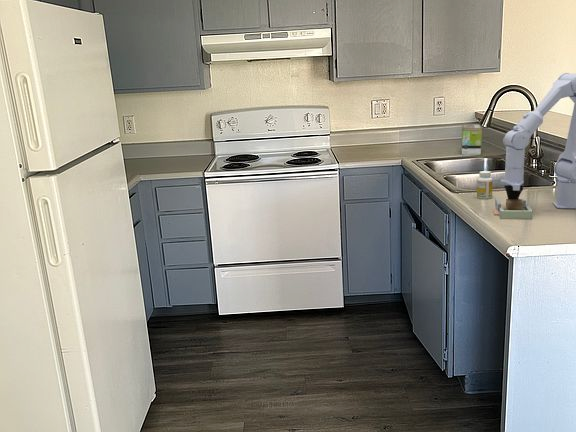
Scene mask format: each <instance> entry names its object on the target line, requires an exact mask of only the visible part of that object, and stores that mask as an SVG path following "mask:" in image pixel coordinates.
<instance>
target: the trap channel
mask: <svg viewBox="0 0 576 432" xmlns="http://www.w3.org/2000/svg"><path fill="white" fill-rule="evenodd" d="M494 199H495V200H494V206H495V208H496V209H495V210H492V212H493V216H499V218H500V220H501V219H504V220H505V219H506V220H507V219H509V220H510V219H511V220H512V219H515V220H520V219H521V220H532V219H533V209H532V207H531V206H530V205H529V204H527V200H526V198H525V197H521V198H520V199H521V200H522V202H523V209H524V210H523V211H522V210H506V209H504V207H502V203H501V201H500V199H499V197H495V198H494Z"/></svg>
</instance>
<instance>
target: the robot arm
mask: <svg viewBox="0 0 576 432" xmlns="http://www.w3.org/2000/svg"><path fill="white" fill-rule="evenodd" d="M564 98H569V99H570V101H572V102H573V108H572V109H573V110H572V113H571V119H570V124H569V129H568V134H567V137H566V143H565V147H564V151H562V152H561V153H560V154H559V156H558V158H557V161H556V162H555V164H554V166H553V171H554V174H555V175H556V179H557V183H556V197H555V198H556V199H555V201H552V204H554V206H555V207H556V208H557V209H576V73H570V72H565V73H562V74H561V75H559V76H558V78H557V79H556V80H555V81H553V83H552V86H551V88H550V90H549V91H548V92H547V93H546V94H545V96H544V98H543V99H542V100H541V101H540V103H539V104H537V106H536V107H535V108H534V110H532V111H531V110H529V111H528V112H527V113H526V112H525V113H524V114H523V115H522V119H520V121H519V122H518V123H517V124H516V125H514V126H513V127H512V128H513V129H511V130H509V131H507V132H506V133H505V135H504V137H503V139H502V142H503V145H504V146H505V166H504V167H505V168H504V169H505V170H504V179H500V183H501V184H502V183H503V184H505V185H503V187H504V189H505V192H506V196H507V199H520V195H521V194H522V193H523V191H524V186H523V184H524V182H525V180H524V175H525V173H524V171H525V156H526V155H525V154H526V153H525V152H526V147H527V146H528V145H529V144H530V142H531V141H530V140H531V137H532V136H533V134H534V133H535V132H536V131H537V130H538V129H539V128H540V127H541V125H543V123H544V116H545V115H546V114H548V112H549V111H551V109H552V108H553V107H554V106H555V105H556V104H558V102H559V101H560V100H561V99H564Z"/></svg>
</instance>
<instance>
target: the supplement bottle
mask: <svg viewBox="0 0 576 432" xmlns="http://www.w3.org/2000/svg"><path fill="white" fill-rule="evenodd" d="M491 176H492V171H489V170H482V171H479V177H478V178H477V180H476V197H477V199H481V200H487V199H489V200H490V199H492V197H493V184H494V183H493V180H494V179H493V178H492V177H491Z"/></svg>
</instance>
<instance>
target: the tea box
mask: <svg viewBox="0 0 576 432" xmlns="http://www.w3.org/2000/svg"><path fill="white" fill-rule="evenodd" d="M461 125H462V127H461V148H460V149H461V155H462V156H481V153H482V137H483V135H482V134H483V127H481V126H482V125H481V124H461ZM480 125H481V126H480Z"/></svg>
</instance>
